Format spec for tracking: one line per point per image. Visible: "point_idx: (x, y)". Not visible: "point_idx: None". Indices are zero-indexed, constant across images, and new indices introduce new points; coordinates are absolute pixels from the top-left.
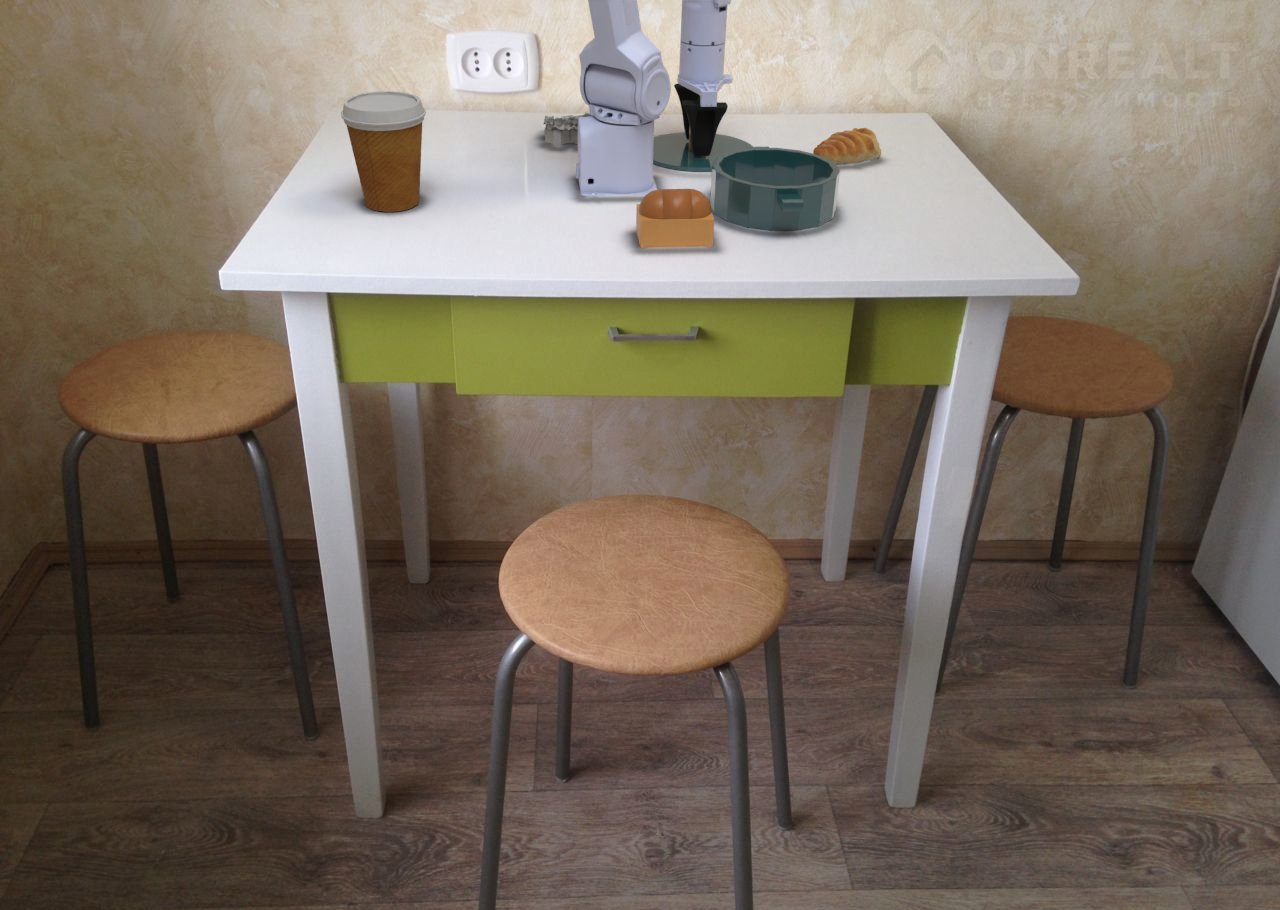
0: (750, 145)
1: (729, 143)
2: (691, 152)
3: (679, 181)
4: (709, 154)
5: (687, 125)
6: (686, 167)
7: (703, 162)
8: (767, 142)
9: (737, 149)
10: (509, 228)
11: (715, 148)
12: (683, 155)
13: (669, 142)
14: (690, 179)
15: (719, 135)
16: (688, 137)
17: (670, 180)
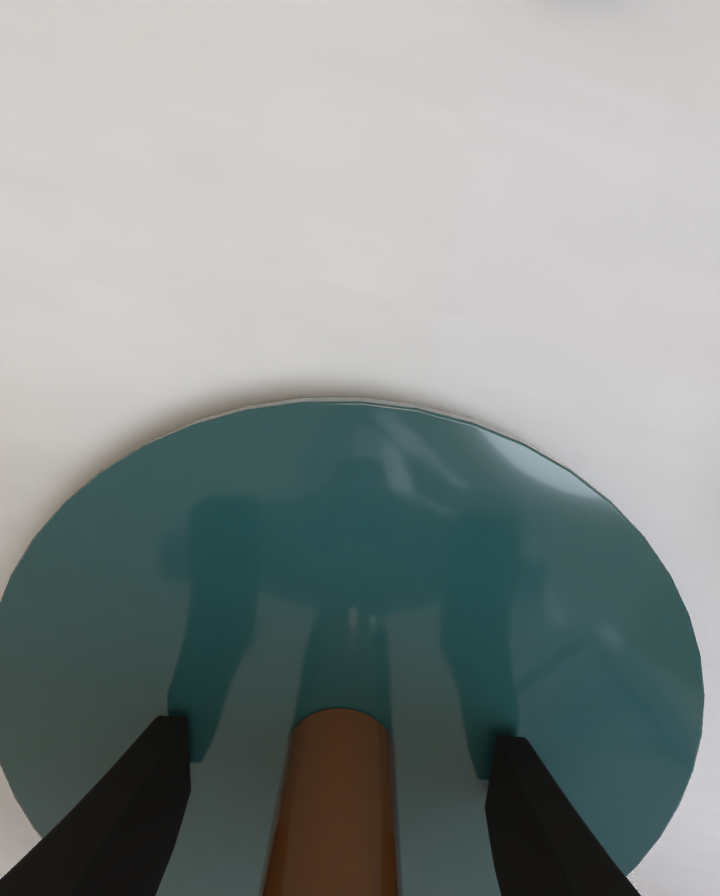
0: (280, 416)
1: (226, 550)
2: (397, 788)
3: (696, 841)
4: (529, 744)
5: (150, 889)
6: (648, 850)
7: (594, 766)
8: (18, 202)
9: (367, 528)
10: None
11: (336, 656)
12: (447, 832)
13: (205, 852)
14: (683, 796)
15: (43, 575)
16: (186, 796)
17: (670, 870)
